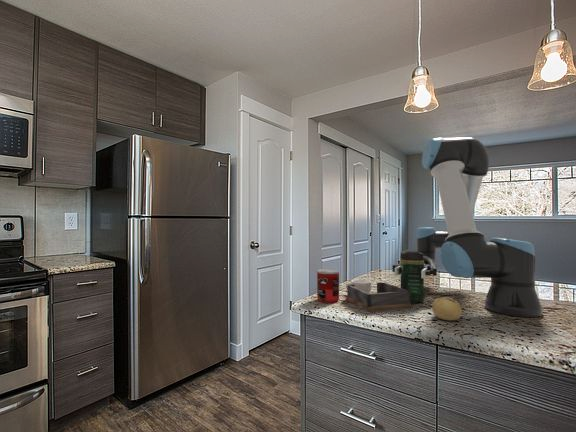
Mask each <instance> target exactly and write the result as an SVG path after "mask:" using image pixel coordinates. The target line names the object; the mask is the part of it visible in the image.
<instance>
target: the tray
mask: <svg viewBox="0 0 576 432" xmlns="http://www.w3.org/2000/svg"><path fill="white" fill-rule="evenodd" d="M400 287H401V286H400ZM400 287H399V286H396V285H393V284H390V283H387V282H383V281H380V282H376V292H373V293H371V292H370V293H367V292H365V291H362V290H360V289H358V288H356V287H355V285H354V284H351V283H350V284H348V285H347V289H346V293H347V294H346V295H345V300H346V301H348V302H350V303H352V304H354V305H355V306H357V307H360V308H361V309H363V310H364V311H366V312H369V313H371V312H379V311H380V312H381V311H391V310H402V309H411V308H412V302H411V291H408V290H405V289H402V288H400Z"/></svg>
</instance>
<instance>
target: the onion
mask: <svg viewBox="0 0 576 432" xmlns="http://www.w3.org/2000/svg"><path fill="white" fill-rule="evenodd" d="M454 298H455V296H452V297H449V296H442V297H439V298H437V299H435V300H434V301H433V303H432V306H431V308H432V313H433V314H434V316H435V317H436V318H438V319H440V320H443V321H457V320H459V319H460V318H461V317H462V314H463V307H462V306H461V304H460V303H459V302H458V301H457V300H456V299H454Z"/></svg>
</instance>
